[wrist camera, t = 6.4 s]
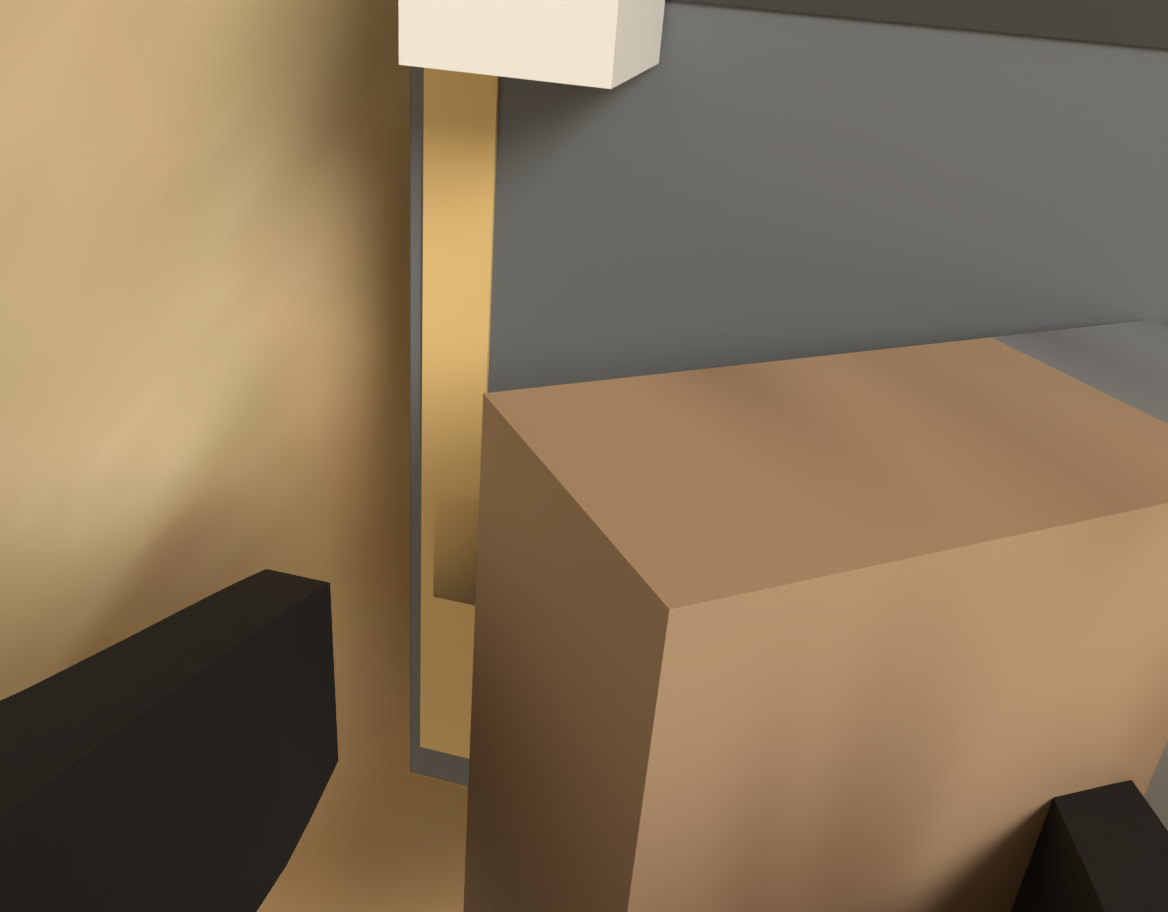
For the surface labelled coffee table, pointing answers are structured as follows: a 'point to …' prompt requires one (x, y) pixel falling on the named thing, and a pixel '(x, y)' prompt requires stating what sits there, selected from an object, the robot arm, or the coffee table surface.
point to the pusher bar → (816, 625)
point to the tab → (534, 38)
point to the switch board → (761, 226)
